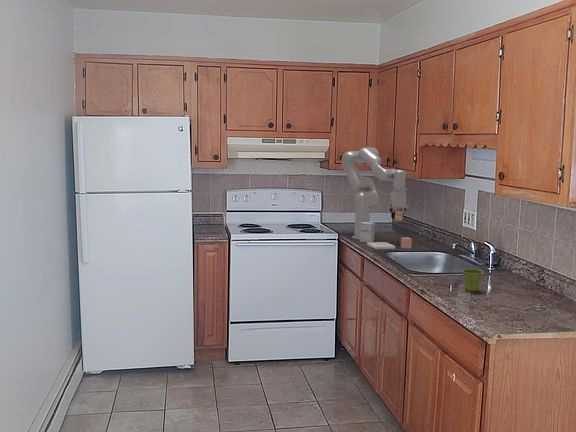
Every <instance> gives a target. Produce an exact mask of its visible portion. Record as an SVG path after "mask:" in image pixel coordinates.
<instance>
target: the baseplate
mask: <svg viewBox="0 0 576 432" xmlns="http://www.w3.org/2000/svg"><path fill="white" fill-rule="evenodd" d="M366 245H367V246H369V248H370V247H371V248H373V249H374V248H375V250H391V249H396V245H394V244H391V243H389V242H385V241H380V242H379V241H377V242H371V243H366Z"/></svg>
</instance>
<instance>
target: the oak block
mask: <svg viewBox="0 0 576 432" xmlns="http://www.w3.org/2000/svg"><path fill="white" fill-rule="evenodd" d="M394 213H395V219H392V218H391V220H393V221H399V222H400V221H403V219H404V215H403V211H401V209H395V211H394Z"/></svg>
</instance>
